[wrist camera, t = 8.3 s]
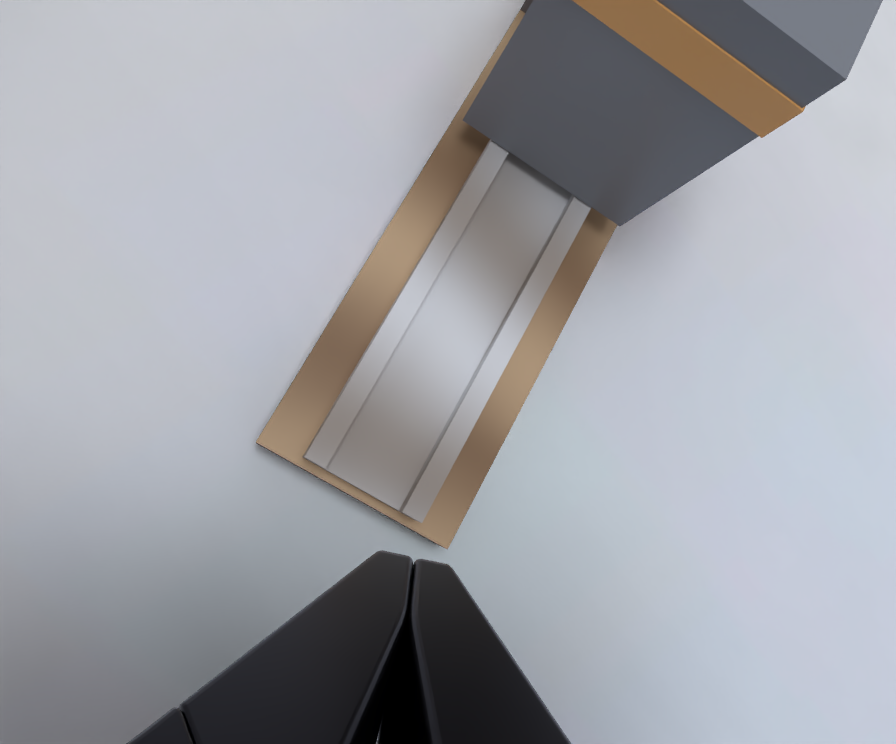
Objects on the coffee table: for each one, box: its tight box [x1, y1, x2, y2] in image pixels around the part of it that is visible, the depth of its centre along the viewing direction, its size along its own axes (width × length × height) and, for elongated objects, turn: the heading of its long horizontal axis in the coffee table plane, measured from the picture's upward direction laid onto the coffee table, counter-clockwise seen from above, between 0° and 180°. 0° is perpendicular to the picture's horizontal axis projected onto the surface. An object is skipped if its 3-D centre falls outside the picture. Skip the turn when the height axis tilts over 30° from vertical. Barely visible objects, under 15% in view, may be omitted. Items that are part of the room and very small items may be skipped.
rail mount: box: [256, 0, 617, 549], centre depth 20 cm, size 18×6×6 cm, turn 151°
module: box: [463, 0, 883, 226], centre depth 17 cm, size 5×6×8 cm
